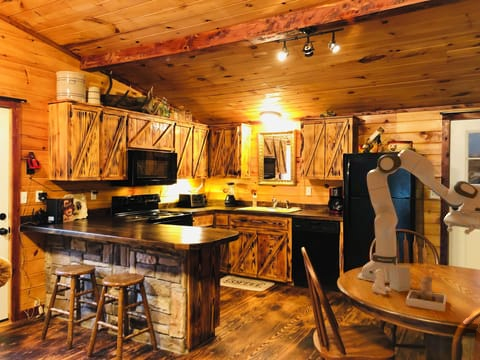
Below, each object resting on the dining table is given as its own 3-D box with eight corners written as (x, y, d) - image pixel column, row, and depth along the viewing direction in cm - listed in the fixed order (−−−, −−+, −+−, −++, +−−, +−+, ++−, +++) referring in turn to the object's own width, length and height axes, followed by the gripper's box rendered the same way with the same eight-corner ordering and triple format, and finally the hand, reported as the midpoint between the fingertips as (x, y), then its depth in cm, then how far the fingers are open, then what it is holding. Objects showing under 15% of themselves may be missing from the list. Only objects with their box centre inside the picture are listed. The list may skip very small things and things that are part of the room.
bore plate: (409, 304, 178) (409, 299, 177) (412, 297, 189) (412, 292, 189) (441, 310, 171) (441, 304, 171) (442, 301, 182) (443, 296, 182)
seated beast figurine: (385, 296, 192) (385, 272, 192) (368, 293, 198) (368, 269, 197) (392, 292, 199) (392, 269, 199) (375, 288, 205) (375, 266, 204)
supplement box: (410, 292, 200) (410, 267, 199) (398, 293, 197) (398, 268, 197) (400, 287, 207) (401, 264, 206) (388, 289, 205) (389, 265, 204)
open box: (406, 306, 177) (406, 298, 177) (410, 297, 191) (410, 289, 190) (444, 313, 169) (444, 304, 169) (446, 303, 183) (446, 294, 183)
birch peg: (420, 303, 179) (421, 277, 179) (421, 301, 183) (421, 275, 183) (431, 305, 177) (431, 279, 177) (431, 302, 181) (432, 277, 181)
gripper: (448, 206, 209) (436, 225, 205) (486, 209, 191) (474, 230, 187) (453, 214, 211) (441, 233, 207) (492, 218, 193) (479, 239, 189)
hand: (457, 232), depth 197 cm, fingers open, 8 cm apart
